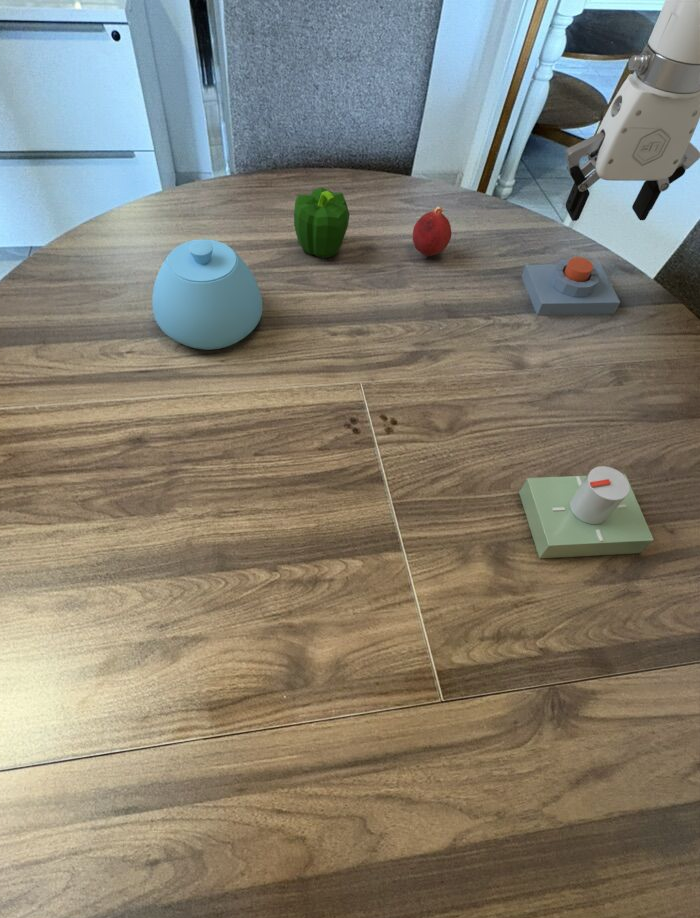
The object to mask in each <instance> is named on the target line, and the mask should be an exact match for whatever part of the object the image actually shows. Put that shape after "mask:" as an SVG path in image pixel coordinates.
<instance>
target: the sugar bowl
mask: <svg viewBox="0 0 700 918" xmlns="http://www.w3.org/2000/svg"><path fill="white" fill-rule="evenodd" d="M151 299H152V300H151V301H152V306H151V307H152V313H153V317H154V321H155V323H156V324H157V325H158V327H159V329H160V330H162V332H163V333H164V334H165V335H167V336H168V337H169V338H171V339H172V340H173V341H175V342H177V343H179V344H181V345H183V346H185V347H189V348H192V349H196V350H205V351H210V350H211V351H213V350H220V349H224V348H228V347H231V346H233V345H235V344H237V343H239V342H240V341H242V340H243V339H245V338H246V337H247V336H248V335H249V334H251V333H252V331H254V330H255V329H256V327H258V324H259V322H260V320H261V318H262V315H263V309H264V307H263V297H262V294H261V289H260V287H259V284H258V281H257V280H256V277H255V275H254V274H253V272H252V271H251V268H250V267H249V266H248V265H247V263H246V262H245V261H244V260H243V259H242V258H241V256H240V255H239V254H238V253H237V252H236V251H235V250H233V248H232V247H230V246H229V245H227V244H226V243H224V242H221V241H219V240H215V239H209V238H208V239H207V238H201V239H200V238H198V239H192V240H188V241H185V242H183V243H181V244H179V245H177V246H175V247H174V248H173V249H172V250H171V251H170V252H169V253H168V255H167V257H166V258H165V260H164V262H163V263H162V265H161V267H160V269H159V271H158V273H157V275H156V278H155V281H154V285H153V289H152V298H151Z"/></svg>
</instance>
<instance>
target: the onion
mask: <svg viewBox="0 0 700 918" xmlns="http://www.w3.org/2000/svg"><path fill="white" fill-rule="evenodd" d="M443 211H444V210H443V208H442V207H441V206H436V207H435V208H434V209H433V210H432V211H429V212H426V213H424V214H423V215H422V216H421V217H420V218H419V219H418V220H417V221H416V222H415V225H414V227H413V229H412V244H413V245H414V248H415V250H417V251H418V253H421V254H422V255H423V256H425V257H431V256H435V255H437V254H440V253H441V252H443V251H444V250H445V249H446V248H447V247H448V245H449V243H450V241H451V239H452V234H453V233H452V227H451V222H450V221H449V219H448V218H447V217H446V216H445V215H444V214H443Z"/></svg>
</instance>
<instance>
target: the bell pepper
mask: <svg viewBox="0 0 700 918" xmlns="http://www.w3.org/2000/svg"><path fill="white" fill-rule="evenodd" d="M348 208H349V207H348V204H347V201H346V198H345V196H344V193H343V192H333V191H331V190H329V189H326V188H325V187H318V188H316V189H313V190H312V191H311V194H306V193H305V194H299V195H297V197H296V199H295V202H294V209H293V226H294V229H295V234H296V239H297V241H298V244H299V246H300V248H301V249H302V250H303V252H304V253H305V254H309V255H314V256H315V257H318V258H321V259H326V258H327V259H328V258H332V257H333V256H335V255H337V253H338V252H339V251H340V249H341V247H342V244H343V242H344V239H345V236H346V233H347V231H348V227H349V222H350V221H349V220H350V211H349V209H348Z"/></svg>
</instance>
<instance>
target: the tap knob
mask: <svg viewBox="0 0 700 918" xmlns="http://www.w3.org/2000/svg"><path fill="white" fill-rule="evenodd" d="M623 474H624V473H622V472H621V471H620V470H618V469H616V468H614V467H611V466H605V465H600V466H597V467H593V468H592V469H591V470H590V471H589V472H588V473H587V474H586V476H587V477H586V478H585V479H584V481H583V482H582V484H581V485H580V486H579V488H578V489H577V490H576V492H575V493H574V495H573V496H572V497H571V500H570V508H571V511H572V512H573V514H574V515H575V516H576V517H577V518H578V519H580V520H581V521H583V522H585V523H588V524H600V523H603V522H604V521H606V520H607V518H608V517H609V516H610V515H611V514H612V513H613V511H614V510H615V509H616V508H617V507H618V506H619V504H620V503H621V502H622V501H623V500H624V499H625V497H626V496H627V495H628V493H629V490H630V486H631V485H630V486H629V483H630V481H629V479H628V478H627V479H628V480H627V479H626V477H625V476H624V475H623ZM628 481H629V482H628Z"/></svg>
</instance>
